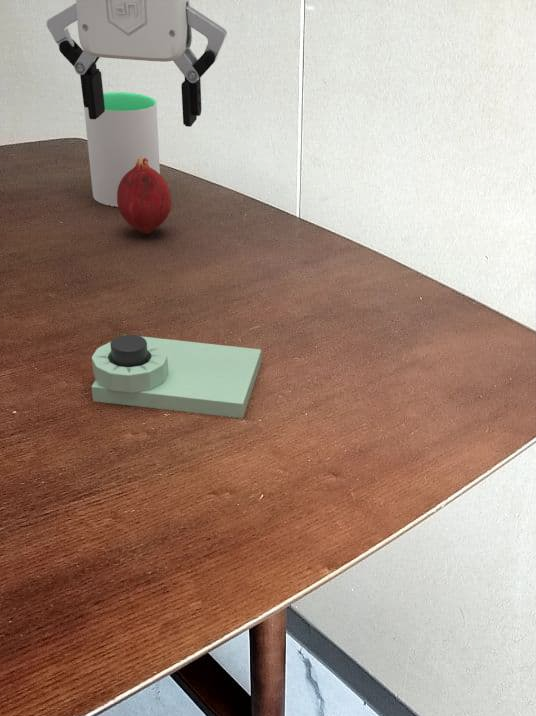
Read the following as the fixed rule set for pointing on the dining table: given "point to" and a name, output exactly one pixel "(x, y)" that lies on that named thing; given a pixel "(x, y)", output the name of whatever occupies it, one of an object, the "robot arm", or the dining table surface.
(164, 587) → the dining table surface
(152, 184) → the onion
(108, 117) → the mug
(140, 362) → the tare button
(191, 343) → the green dial panel
